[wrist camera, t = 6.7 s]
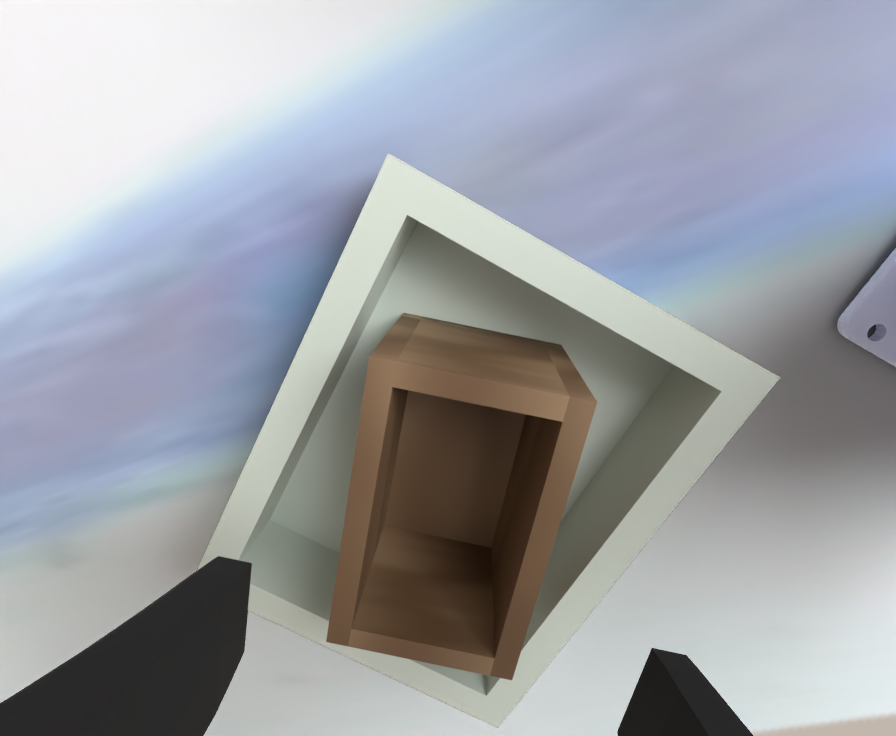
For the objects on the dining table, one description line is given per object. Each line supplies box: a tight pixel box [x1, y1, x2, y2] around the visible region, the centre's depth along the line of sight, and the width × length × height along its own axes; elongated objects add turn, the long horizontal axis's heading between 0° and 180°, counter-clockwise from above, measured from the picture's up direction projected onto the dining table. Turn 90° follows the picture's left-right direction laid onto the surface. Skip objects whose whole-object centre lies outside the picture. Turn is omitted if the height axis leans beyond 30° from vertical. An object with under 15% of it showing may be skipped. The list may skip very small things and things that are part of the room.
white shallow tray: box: [197, 153, 780, 728], centre depth 16 cm, size 11×14×4 cm
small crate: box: [326, 313, 597, 680], centre depth 14 cm, size 5×8×5 cm, turn 169°
